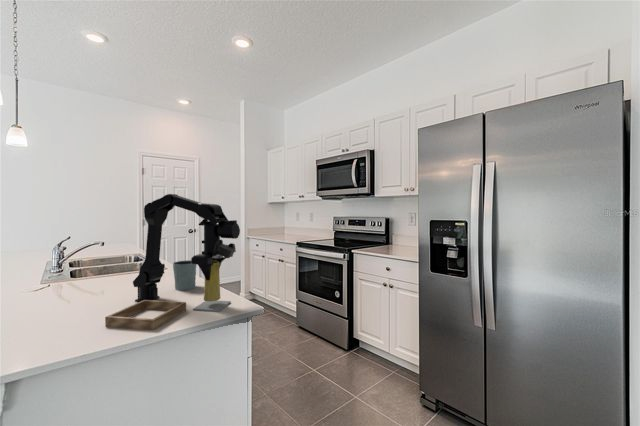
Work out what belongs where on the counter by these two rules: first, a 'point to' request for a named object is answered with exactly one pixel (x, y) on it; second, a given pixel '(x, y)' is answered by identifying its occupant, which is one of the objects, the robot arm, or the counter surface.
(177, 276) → the grey-blue cup
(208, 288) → the vase
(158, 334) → the counter surface
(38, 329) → the counter surface
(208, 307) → the slate mat
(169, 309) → the wooden frame
